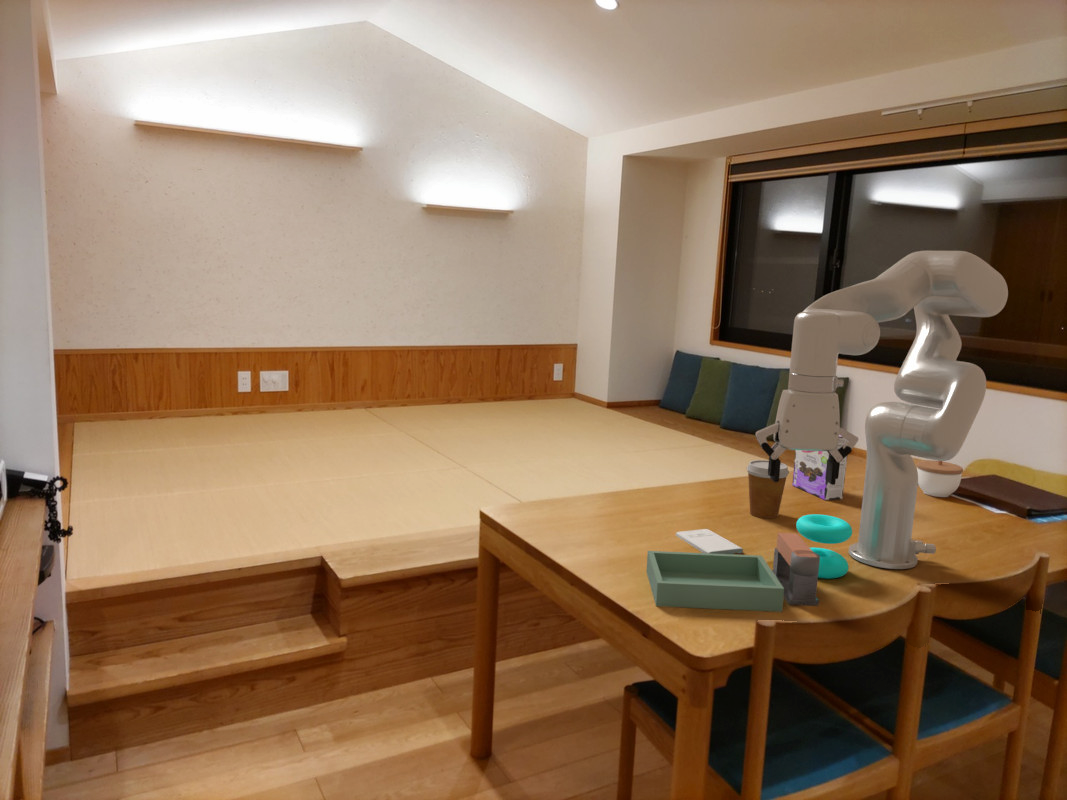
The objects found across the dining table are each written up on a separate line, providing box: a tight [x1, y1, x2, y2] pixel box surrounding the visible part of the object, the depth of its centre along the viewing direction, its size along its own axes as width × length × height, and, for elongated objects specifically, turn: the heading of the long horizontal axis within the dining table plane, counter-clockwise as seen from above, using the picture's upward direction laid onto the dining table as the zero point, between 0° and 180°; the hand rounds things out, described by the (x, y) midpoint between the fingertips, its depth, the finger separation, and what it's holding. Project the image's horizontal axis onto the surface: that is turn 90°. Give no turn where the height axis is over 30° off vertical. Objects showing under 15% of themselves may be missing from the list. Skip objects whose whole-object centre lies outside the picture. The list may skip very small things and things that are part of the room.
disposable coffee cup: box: [746, 459, 790, 519], centre depth 182 cm, size 10×10×12 cm
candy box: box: [791, 435, 849, 501], centre depth 202 cm, size 14×6×16 cm, turn 17°
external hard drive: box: [675, 528, 744, 555], centre depth 162 cm, size 2×8×12 cm
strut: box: [775, 532, 820, 577], centre depth 138 cm, size 13×5×3 cm, turn 178°
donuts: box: [795, 513, 853, 579], centre depth 148 cm, size 10×10×10 cm
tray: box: [646, 550, 784, 613], centre depth 138 cm, size 21×15×4 cm
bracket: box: [771, 547, 820, 607], centre depth 139 cm, size 13×5×6 cm, turn 178°
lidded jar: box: [916, 459, 964, 498], centre depth 204 cm, size 11×11×9 cm
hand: (802, 481), depth 136 cm, fingers open, 9 cm apart
